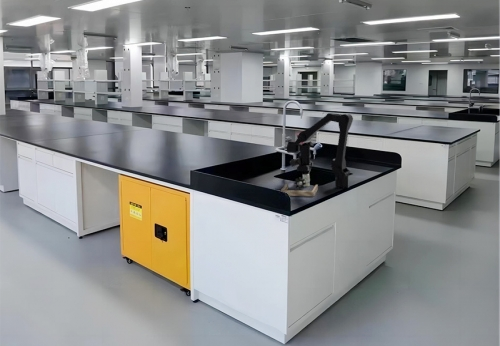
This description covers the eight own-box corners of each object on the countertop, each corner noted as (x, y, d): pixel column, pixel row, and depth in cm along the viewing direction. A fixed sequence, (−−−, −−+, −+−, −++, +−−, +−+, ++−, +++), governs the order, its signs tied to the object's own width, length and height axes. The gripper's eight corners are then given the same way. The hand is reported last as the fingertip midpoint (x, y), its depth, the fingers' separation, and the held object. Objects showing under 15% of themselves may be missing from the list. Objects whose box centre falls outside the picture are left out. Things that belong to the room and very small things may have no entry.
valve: (302, 184, 243) (294, 189, 233) (301, 173, 242) (293, 177, 232) (313, 185, 240) (305, 190, 230) (312, 173, 239) (305, 177, 229)
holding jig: (317, 189, 230) (317, 184, 230) (313, 196, 215) (313, 191, 215) (286, 188, 235) (286, 184, 235) (280, 195, 220) (280, 190, 219)
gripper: (294, 151, 252) (294, 177, 255) (287, 156, 234) (288, 184, 237) (313, 151, 248) (313, 177, 251) (307, 156, 231) (308, 184, 234)
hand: (305, 180), depth 244 cm, fingers closed
